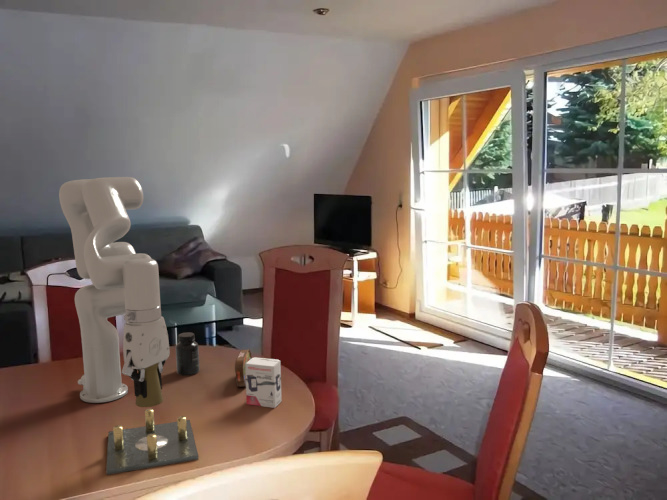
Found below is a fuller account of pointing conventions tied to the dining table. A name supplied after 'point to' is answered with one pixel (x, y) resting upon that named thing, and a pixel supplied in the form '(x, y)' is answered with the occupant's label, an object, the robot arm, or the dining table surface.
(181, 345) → the supplement bottle
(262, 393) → the ink box
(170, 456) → the chassis plate
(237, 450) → the dining table surface
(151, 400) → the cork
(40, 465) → the dining table surface
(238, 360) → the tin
